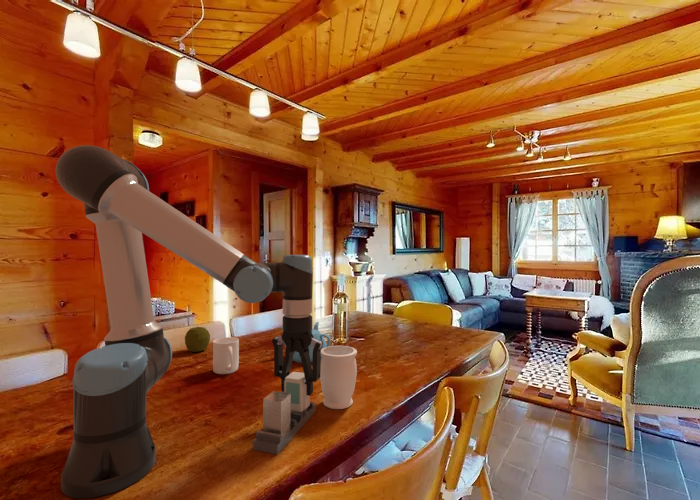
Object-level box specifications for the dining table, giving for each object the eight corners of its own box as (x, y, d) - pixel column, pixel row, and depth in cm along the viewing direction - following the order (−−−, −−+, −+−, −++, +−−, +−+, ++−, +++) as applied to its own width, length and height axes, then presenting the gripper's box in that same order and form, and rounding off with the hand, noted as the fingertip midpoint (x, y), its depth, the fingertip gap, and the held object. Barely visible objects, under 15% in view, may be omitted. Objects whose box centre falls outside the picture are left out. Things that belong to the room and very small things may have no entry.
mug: (218, 380, 113) (218, 347, 113) (210, 369, 123) (210, 339, 123) (244, 374, 118) (244, 343, 118) (234, 364, 128) (235, 336, 128)
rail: (277, 454, 73) (277, 407, 73) (253, 449, 75) (253, 403, 75) (315, 411, 92) (315, 374, 92) (294, 408, 94) (295, 372, 94)
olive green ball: (201, 355, 138) (201, 328, 138) (179, 353, 140) (179, 327, 140) (214, 348, 148) (214, 322, 148) (194, 346, 150) (194, 321, 150)
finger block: (300, 412, 85) (300, 380, 85) (284, 409, 86) (284, 378, 86) (308, 404, 90) (308, 373, 89) (293, 401, 91) (293, 371, 91)
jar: (336, 392, 105) (337, 343, 105) (363, 402, 98) (364, 349, 98) (311, 404, 96) (312, 350, 96) (339, 415, 90) (340, 358, 90)
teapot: (277, 355, 139) (277, 325, 139) (317, 348, 150) (317, 320, 150) (294, 368, 125) (295, 334, 125) (338, 359, 135) (338, 328, 135)
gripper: (334, 314, 89) (334, 404, 89) (274, 310, 94) (274, 394, 94) (323, 320, 82) (323, 417, 82) (259, 315, 87) (259, 407, 87)
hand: (296, 405), depth 88 cm, fingers closed on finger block, 4 cm apart
